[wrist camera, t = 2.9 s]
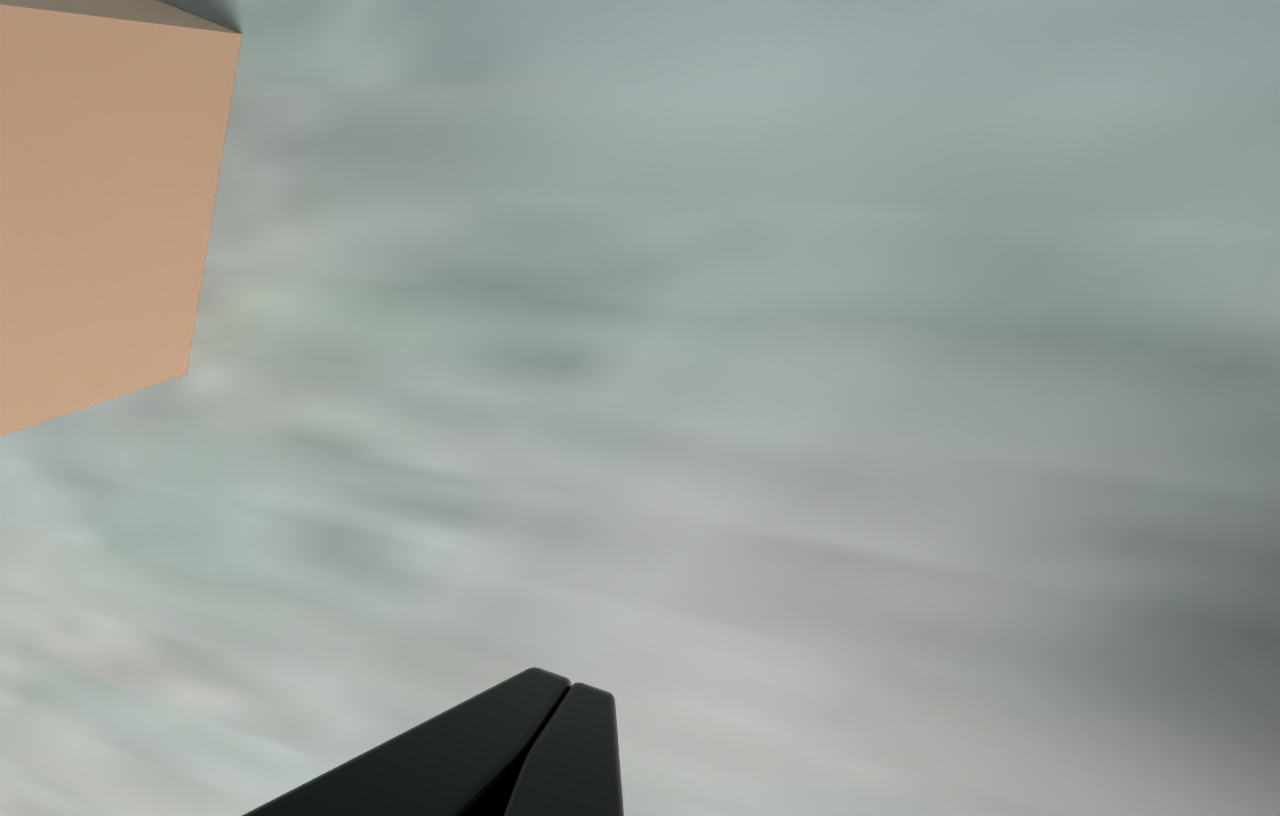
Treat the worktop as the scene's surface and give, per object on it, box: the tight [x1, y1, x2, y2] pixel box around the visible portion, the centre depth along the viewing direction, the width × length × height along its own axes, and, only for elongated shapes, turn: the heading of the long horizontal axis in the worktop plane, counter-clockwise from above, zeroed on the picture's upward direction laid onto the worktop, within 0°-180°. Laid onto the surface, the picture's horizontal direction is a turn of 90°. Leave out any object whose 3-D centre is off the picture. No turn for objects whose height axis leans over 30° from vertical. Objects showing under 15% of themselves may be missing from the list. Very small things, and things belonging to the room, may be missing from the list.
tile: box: [0, 0, 242, 436], centre depth 21 cm, size 3×9×8 cm, turn 160°
